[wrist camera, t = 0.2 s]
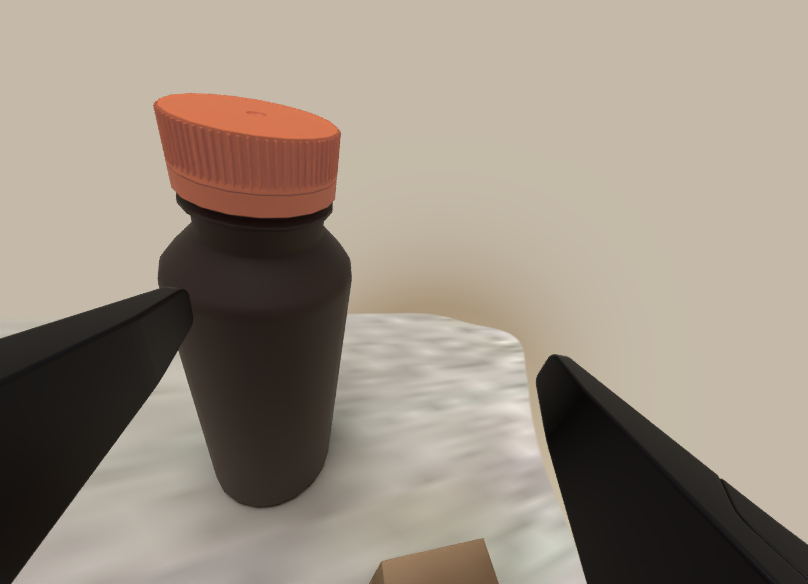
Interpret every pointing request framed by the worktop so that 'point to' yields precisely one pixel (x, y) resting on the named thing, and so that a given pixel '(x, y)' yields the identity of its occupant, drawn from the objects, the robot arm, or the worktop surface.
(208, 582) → the worktop surface
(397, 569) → the walnut cube
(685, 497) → the robot arm
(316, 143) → the vinegar
